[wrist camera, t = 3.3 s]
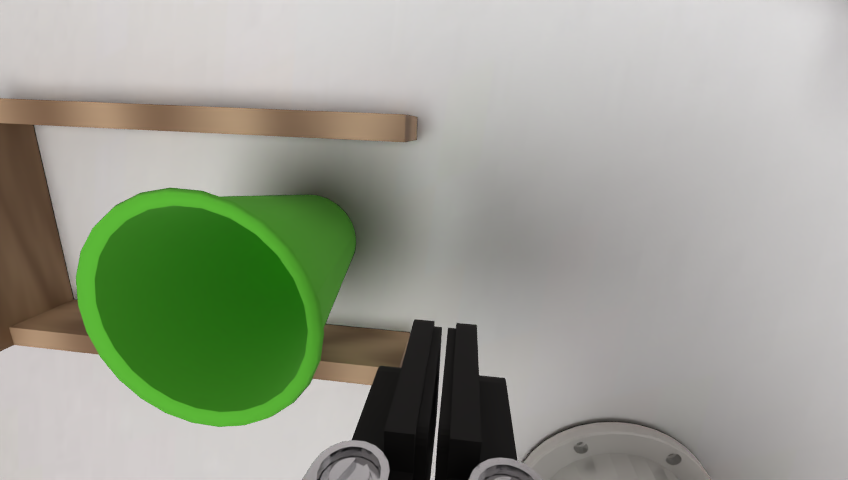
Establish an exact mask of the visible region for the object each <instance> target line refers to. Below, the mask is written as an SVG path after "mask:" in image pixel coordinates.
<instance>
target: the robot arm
mask: <svg viewBox="0 0 848 480" xmlns="http://www.w3.org/2000/svg"><path fill="white" fill-rule="evenodd" d="M441 335H442V327H434V321H426V320H414V322H413V326H412V330H411V333H410V337H409V341H408V344H407V348H406V352H405V356H404V359H403V363H402V367H401V368H399V367H389V366H379V368H378V370H377V372H376V375H375V378H374V381H373V383H372V386H371V389H370V392H369V394H368V397H367V400H366V403H365V405H364V408H363V411H362V413H361V416H360V419H359V422H358V424H357V427H356V430H355V433H354V435H353V438H352V440H351V441H344V442H340V443H338V444H335V445H333V446H330V447H329V448H328V449H326V450H325V451H323V452H322V453H321V454H320V455H319V456H318V457H317V458H316V459H315V461H314V462H313V463H312V465H311V466H310V468H309V469H308V471H307V473H306V474H305V476H304V477H303V479H302V480H430V475H431V465H432V456H433V446H434V437H435V428H436V417H437V402H438V385H439V368H440V351H441ZM435 480H711V479H710V477H709V476H708V474H707V473H706V471H705V470H704V468H703V467H702V465H701V464H700V462H699V461H698V459H697V458H696V457H695V456H694V455H693V454H692V453H691V452H690V451H689V450H688V449H687V448H686V447H685V446H683V445H682V444H681V443H679V442H678V441H676V440H675V439H673V438H672V437H670V436H668V435H666V434H664V433H661V432H659V431H657V430H655V429H651V428H648V427H644V426H641V425H637V424H630V423H621V422H600V423H592V424H586V425H581V426H577V427H574V428H571V429H568V430H565V431H563V432H560V433H558V434H556V435H555V436H553V437H551V438H549V439H548V440H546V441H544V442H543V443H542V444H541V445H539V446H538V447H537V448H536V449H535V450H533V451H532V452H531V454H530V455H529V456H528V457H527V459H526V460H525V461H524V463H521V462H519V461H517V455H516V448H515V441H514V434H513V427H512V421H511V414H510V407H509V400H508V393H507V386H506V381H505V378H499V377H489V376H479V367H478V343H477V325H471V324H460V323H457V324H456V329H455V328H448V335H447V345H446V356H445V366H444V376H443V387H442V397H441V408H440V418H439V429H438V441H437V456H436V472H435Z"/></svg>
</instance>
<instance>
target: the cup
mask: <svg viewBox="0 0 848 480" xmlns="http://www.w3.org/2000/svg"><path fill="white" fill-rule="evenodd" d="M355 246H356V237H355V231H354V228H353V225H352V222H351V220H350V219H349V217H348V216H347V214H346V213H345V212H344V211H343V210H342V209H341V208H340V207H339V206H338V205H337V204H336V203H334V202H332V201H331V200H329V199H327V198H324V197H321V196H318V195H267V196H226V197H218V196H216V195H213V194H210V193H207V192H204V191H198V190H188V189H178V188H166V189H160V190H154V191H148V192H142V193H139V194H137V195H135V196H133V197H131V198H129V199H127V200H125V201H123V202H121V203H119V204H117V205H116V206H115V207H114V208H113V209H112V210H111V211H110V212H109V213H107V214H106V215H105V216H104V217H103V218H102V219H101V220H100V221H99V222H98V223H97V224H96V225H95V227H94V228H93V229H92V231H91V233H90V235H89V237H88V238H87V240H86V242H85V244H84V246H83V248H82V250H81V253H80V258H79V264H78V269H77V275H76V285H77V298H78V306H79V310H80V313H81V316H82V319H83V322H84V326H85V329H86V332H87V334H88V335H89V337H90V339H91V341H92V343H93V344H94V346H95V348H96V350H97V352H98V354H99V355H100V357H101V358H102V360H103V361H104V362H105V363H106V364H107V366H108V367H109V368H110V369H111V370H112V372H113V373H114V374H115V375H116V377H117V378H118V379H119V380H120V381H121V382H122V383H124V384H125V385H126V386H127V387H128V388H129V389H131V390H132V391H133V392H134V393H135V394H137V395H138V396H139V397H140V398H141V399H143V400H145V401H146V402H148V403H150V404H151V405H153V406H155V407H157V408H158V409H160V410H162V411H163V412H165V413H167V414H170V415H173V416H176V417H178V418H181V419H184V420H186V421H189V422H192V423H198V424H204V425H211V426H217V427H223V426H240V425H247V424H250V423H253V422H256V421H260V420H263V419H266V418H269V417H271V416H273V415H275V414H276V413H278V412H280V411H281V410H283V409H284V408H286V407H287V406H289V405H291V404H292V403H294V402H295V401H296V399H297V398H298V397H299V396H300V395H301V394H302V392H303V391H304V390H305V389H306V388H307V387H308V386H309V384H310V383H311V380H312V378H313V376H314V374H315V371H316V369H317V367H318V365H319V363H320V360H321V353H322V345H323V338H324V326H325V324H326V321H327V319H328V316H329V314H330V311H331V309H332V306H333V304H334V301H335V299H336V297H337V294H338V292H339V289H340V287H341V284H342V282H343V279H344V277H345V275H346V272H347V270H348V267H349V265H350V262H351V260H352V257H353V255H354V253H355Z"/></svg>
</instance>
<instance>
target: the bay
mask: <svg viewBox="0 0 848 480" xmlns="http://www.w3.org/2000/svg"><path fill="white" fill-rule="evenodd" d="M33 125H52V126H73V127H94V128H115V129H137V130H158V131H179V132H200V133H222V134H243V135H264V136H285V137H307V138H328V139H349V140H370V141H392V142H408V141H412V140H417V117H415V116H410V115H404V114H379V113H354V112H329V111H303V110H278V109H253V108H228V107H203V106H177V105H152V104H127V103H102V102H77V101H51V100H26V99H1V98H0V351H2V350H4V349H6V348H8V347H10V346H13V345H20V346H29V347H38V348H47V349H56V350H65V351H73V352H82V353H91V354H98V352H97V350H96V348H95V346H94V344H93V343H92V341H91V339H90V337H89V335H88V334H87V332H86V329H85V326H84V322H83V319H82V316H81V313H80V310H79V306H78V300H74V299H73V295H72V291H71V287H70V282H69V278H68V274H67V269H66V265H65V261H64V256H63V252H62V248H61V243H60V239H59V235H58V231H57V226H56V222H55V218H54V213H53V209H52V205H51V200H50V196H49V192H48V187H47V183H46V179H45V175H44V170H43V166H42V162H41V157H40V153H39V149H38V144H37V140H36V136H35V131H34V127H33ZM409 337H410V332H400V331H390V330H379V329H369V328H359V327H349V326H338V325H328V324H325V326H324V338H323V345H322V353H321V360H320V363H319V365H318V367H317V369H316V371H315V374H314V376H313V378H312V379H321V380H330V381H339V382H348V383H357V384H365V385H372V383H373V381H374V378H375V375H376V372H377V370H378V368H379V366H389V367H399V368H401V367H402V363H403V359H404V356H405V352H406V348H407V344H408V341H409Z"/></svg>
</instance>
